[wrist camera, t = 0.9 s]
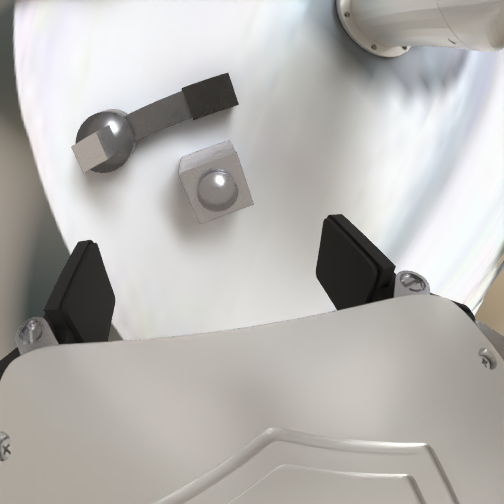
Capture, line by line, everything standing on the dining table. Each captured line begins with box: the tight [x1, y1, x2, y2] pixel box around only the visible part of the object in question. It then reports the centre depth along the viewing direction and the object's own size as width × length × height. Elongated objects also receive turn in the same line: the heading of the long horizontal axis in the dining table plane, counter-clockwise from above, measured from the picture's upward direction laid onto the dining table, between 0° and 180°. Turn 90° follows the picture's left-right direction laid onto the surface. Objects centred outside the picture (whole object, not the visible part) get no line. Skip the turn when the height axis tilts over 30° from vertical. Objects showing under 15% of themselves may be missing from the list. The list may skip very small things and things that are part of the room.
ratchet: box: [71, 73, 239, 173], centre depth 24 cm, size 18×7×8 cm, turn 107°
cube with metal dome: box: [178, 140, 254, 224], centre depth 29 cm, size 6×6×8 cm
